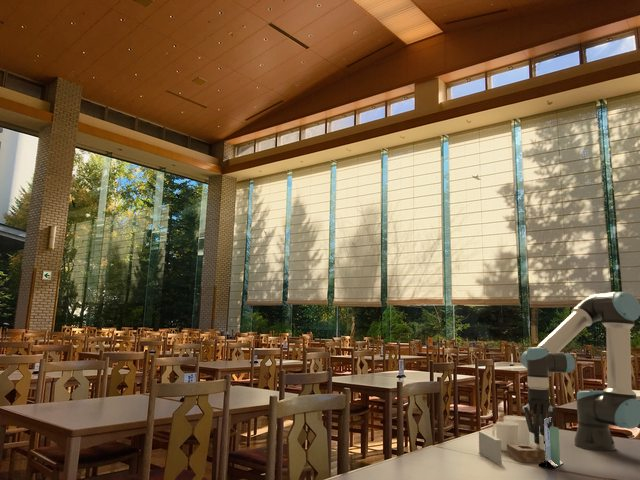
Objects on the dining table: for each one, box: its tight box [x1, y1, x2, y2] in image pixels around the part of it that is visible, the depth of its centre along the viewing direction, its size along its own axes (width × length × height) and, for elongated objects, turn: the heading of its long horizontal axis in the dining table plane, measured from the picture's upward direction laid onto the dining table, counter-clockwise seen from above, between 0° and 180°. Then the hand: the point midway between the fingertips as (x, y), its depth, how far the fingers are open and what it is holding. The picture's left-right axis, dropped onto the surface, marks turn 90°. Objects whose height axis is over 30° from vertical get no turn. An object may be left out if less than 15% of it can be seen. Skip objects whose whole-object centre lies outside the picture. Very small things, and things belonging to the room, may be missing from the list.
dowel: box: [549, 426, 561, 467], centre depth 184 cm, size 3×3×13 cm
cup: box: [492, 420, 518, 452], centre depth 208 cm, size 8×12×10 cm
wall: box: [478, 430, 503, 465], centre depth 191 cm, size 2×16×8 cm, turn 4°
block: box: [506, 444, 546, 463], centre depth 192 cm, size 10×10×4 cm
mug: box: [503, 415, 531, 445], centre depth 219 cm, size 14×10×11 cm
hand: (540, 452), depth 192 cm, fingers closed
